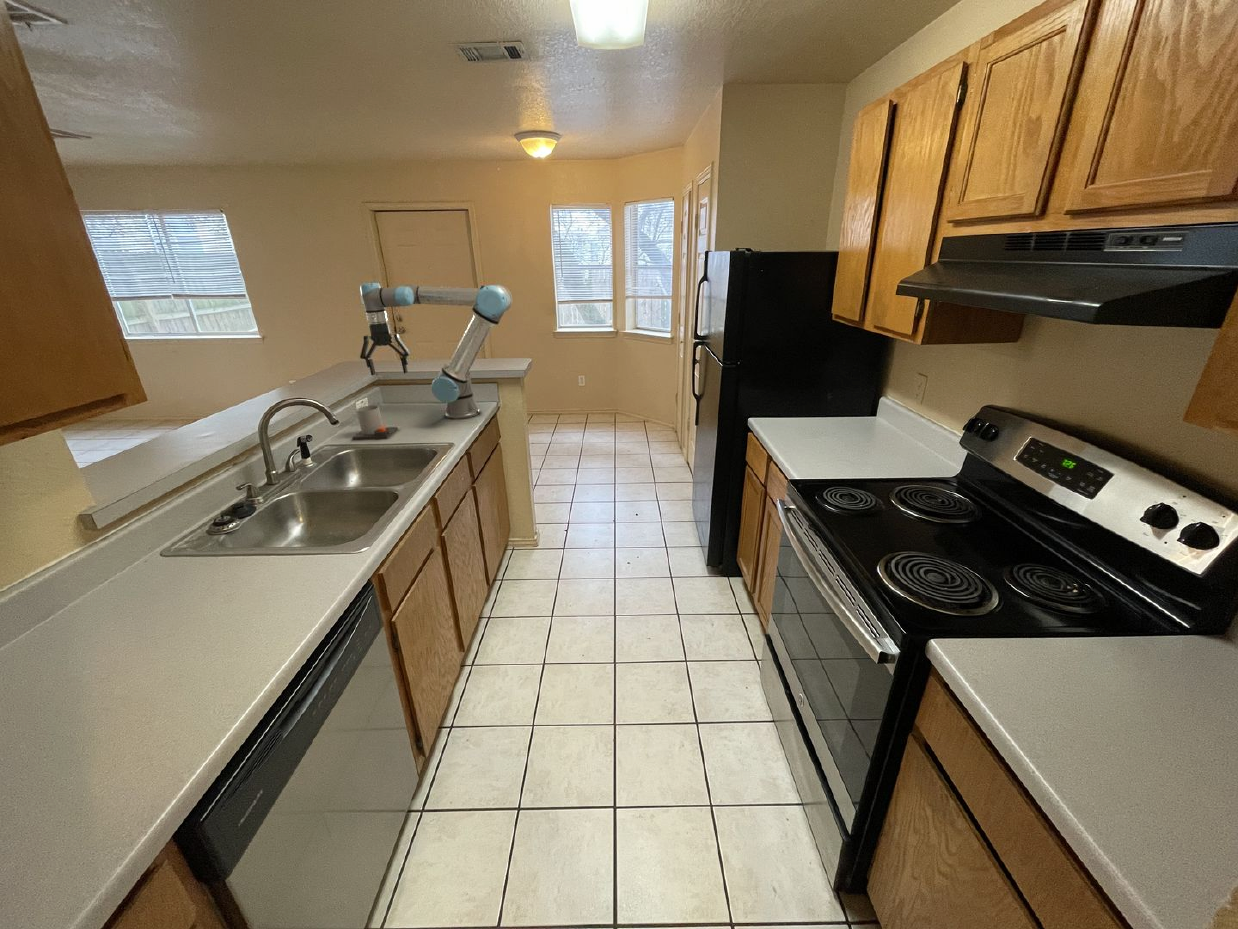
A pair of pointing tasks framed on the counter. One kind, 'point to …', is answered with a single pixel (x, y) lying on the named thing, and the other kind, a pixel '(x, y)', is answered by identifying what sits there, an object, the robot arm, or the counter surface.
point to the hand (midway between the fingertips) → (389, 373)
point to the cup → (369, 419)
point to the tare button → (381, 429)
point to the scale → (376, 434)
